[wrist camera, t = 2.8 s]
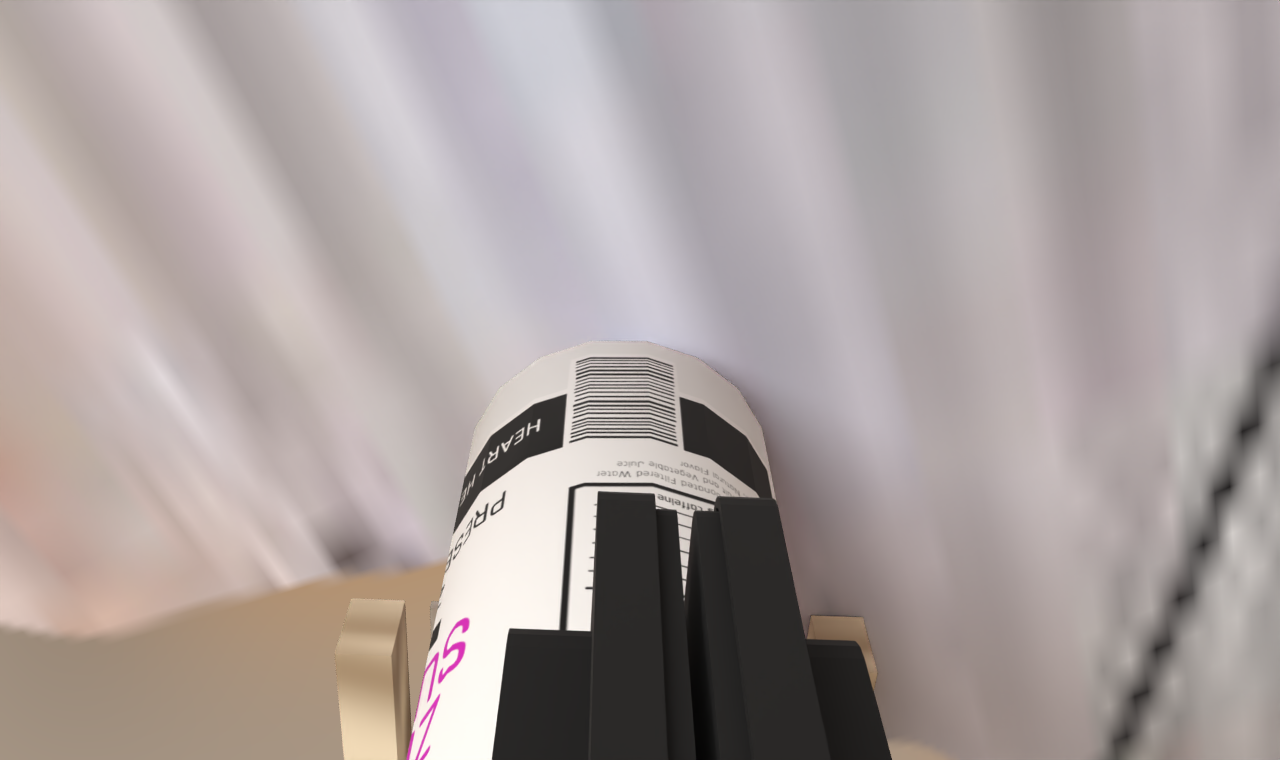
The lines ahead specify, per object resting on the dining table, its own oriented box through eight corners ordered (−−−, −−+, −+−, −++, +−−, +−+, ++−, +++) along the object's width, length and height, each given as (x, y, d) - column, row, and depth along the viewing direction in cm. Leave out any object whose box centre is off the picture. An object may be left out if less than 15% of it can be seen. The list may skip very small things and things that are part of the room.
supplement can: (798, 525, 34) (908, 1025, 21) (536, 600, 35) (486, 1116, 22) (714, 288, 30) (786, 719, 17) (424, 381, 31) (285, 849, 18)
